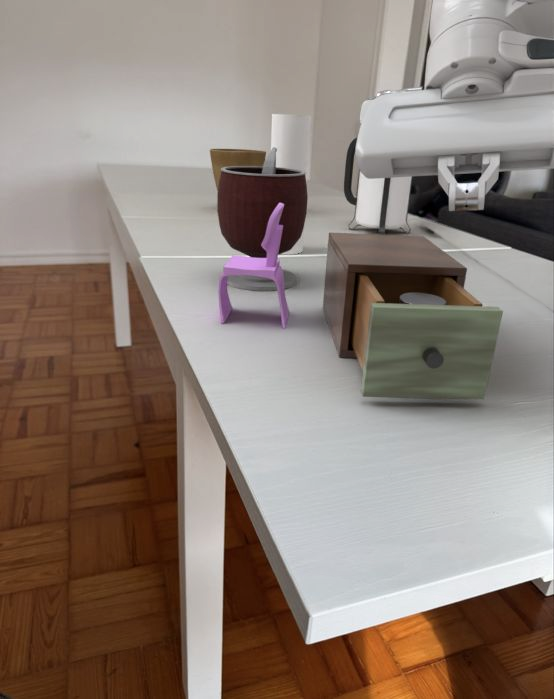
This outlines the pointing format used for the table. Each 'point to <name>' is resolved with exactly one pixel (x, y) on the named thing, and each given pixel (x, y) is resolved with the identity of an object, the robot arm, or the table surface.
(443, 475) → the table surface
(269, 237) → the toy chair
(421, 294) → the steel cylinder
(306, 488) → the table surface
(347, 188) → the coffee press
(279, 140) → the cylindrical container
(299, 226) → the mate gourd
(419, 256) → the cabinet
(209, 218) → the table surface
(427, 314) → the drawer
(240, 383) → the table surface
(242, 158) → the plant pot
